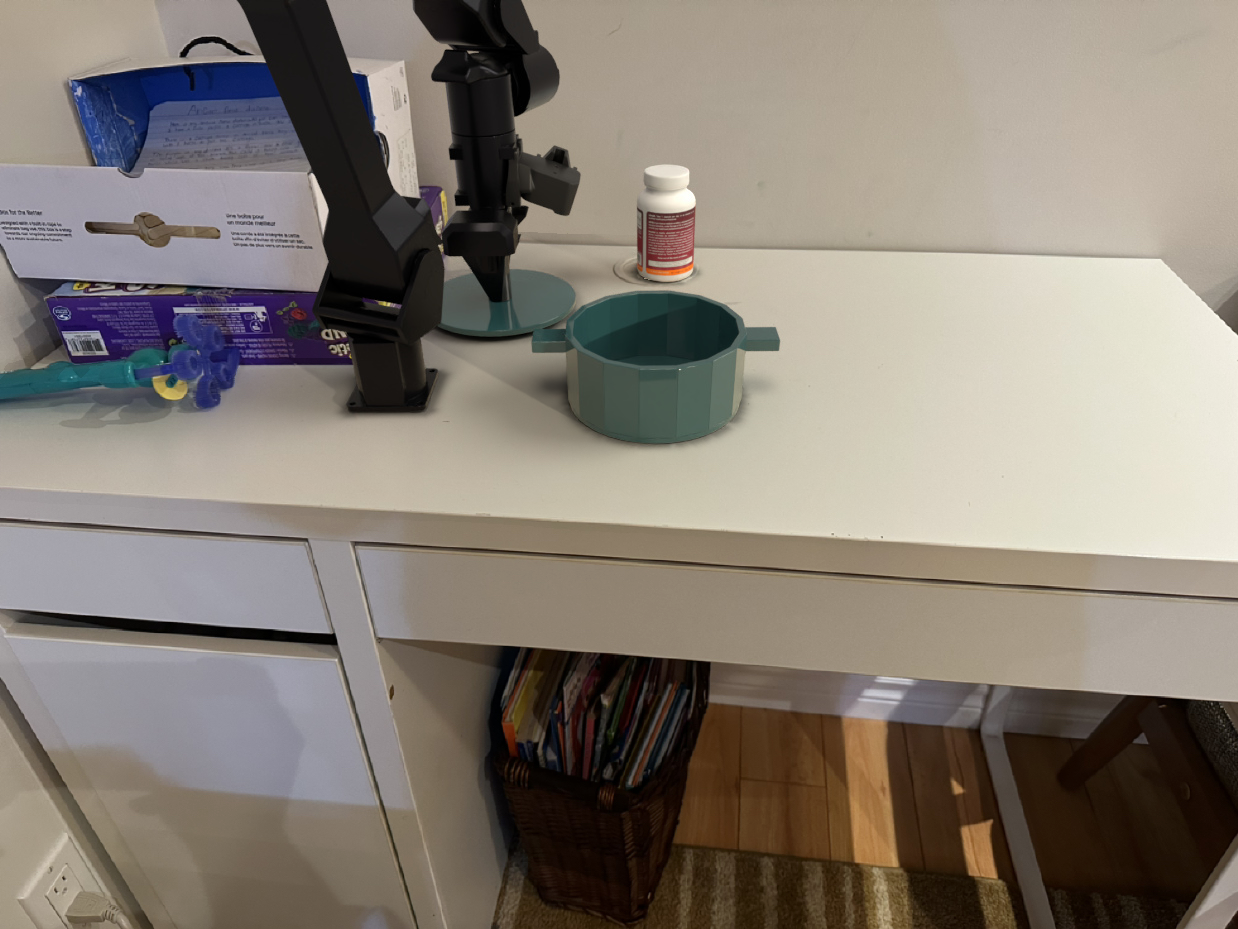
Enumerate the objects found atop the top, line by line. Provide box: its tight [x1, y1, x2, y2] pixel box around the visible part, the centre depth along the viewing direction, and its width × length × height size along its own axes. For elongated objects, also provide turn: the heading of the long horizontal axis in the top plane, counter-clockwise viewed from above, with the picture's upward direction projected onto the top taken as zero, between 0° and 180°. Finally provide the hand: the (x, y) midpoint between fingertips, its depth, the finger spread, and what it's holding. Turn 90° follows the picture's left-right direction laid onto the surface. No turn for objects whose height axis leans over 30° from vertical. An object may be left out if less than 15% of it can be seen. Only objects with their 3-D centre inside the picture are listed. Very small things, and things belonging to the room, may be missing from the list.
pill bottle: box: [636, 164, 697, 283], centre depth 89 cm, size 6×6×11 cm
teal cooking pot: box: [530, 289, 781, 445], centre depth 69 cm, size 14×20×6 cm
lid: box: [437, 256, 577, 337], centre depth 84 cm, size 15×15×6 cm
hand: (499, 292), depth 84 cm, fingers open, 4 cm apart
